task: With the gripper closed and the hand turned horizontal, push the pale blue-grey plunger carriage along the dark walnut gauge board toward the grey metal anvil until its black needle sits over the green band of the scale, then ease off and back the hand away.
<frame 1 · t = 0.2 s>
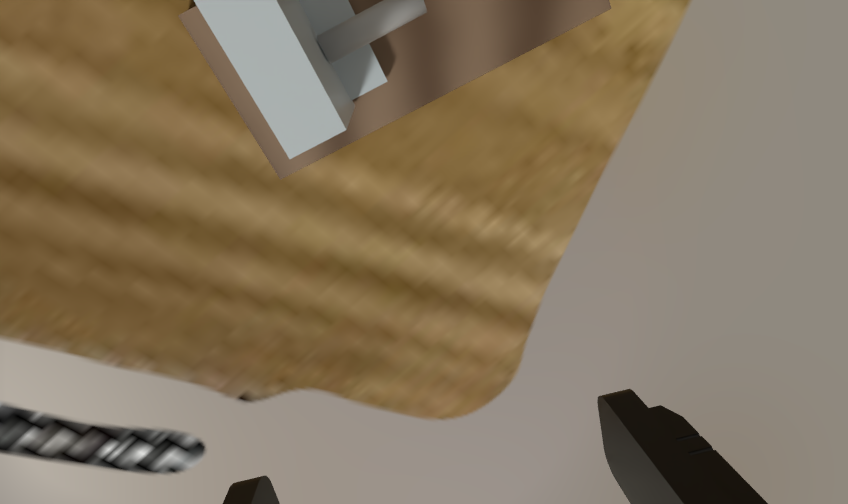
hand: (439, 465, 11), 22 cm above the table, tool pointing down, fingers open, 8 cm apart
gauge board: (402, 14, 27), on the table
carriage: (332, 11, 21), point 7 cm above the table, slide at 0.0 cm
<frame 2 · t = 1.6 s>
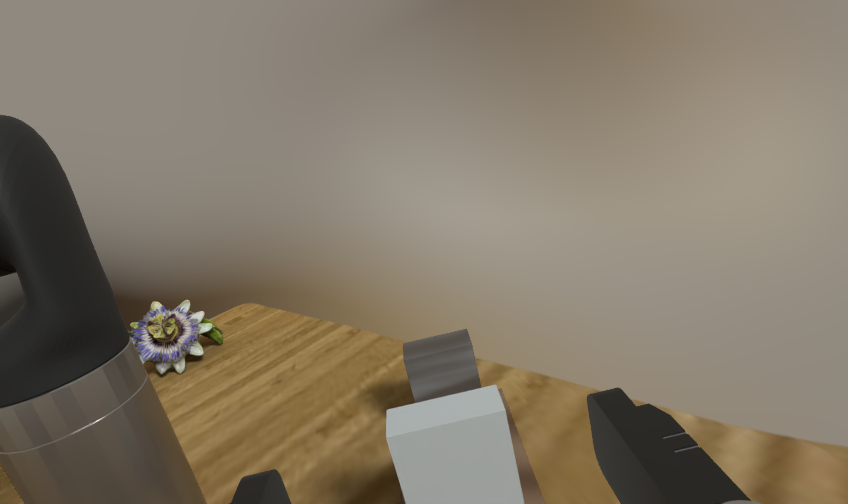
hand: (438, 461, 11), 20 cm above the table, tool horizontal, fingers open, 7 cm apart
passion flower: (183, 362, 72), on the table
gauge board: (470, 500, 35), on the table
carriage: (441, 460, 30), point 7 cm above the table, slide at 0.0 cm
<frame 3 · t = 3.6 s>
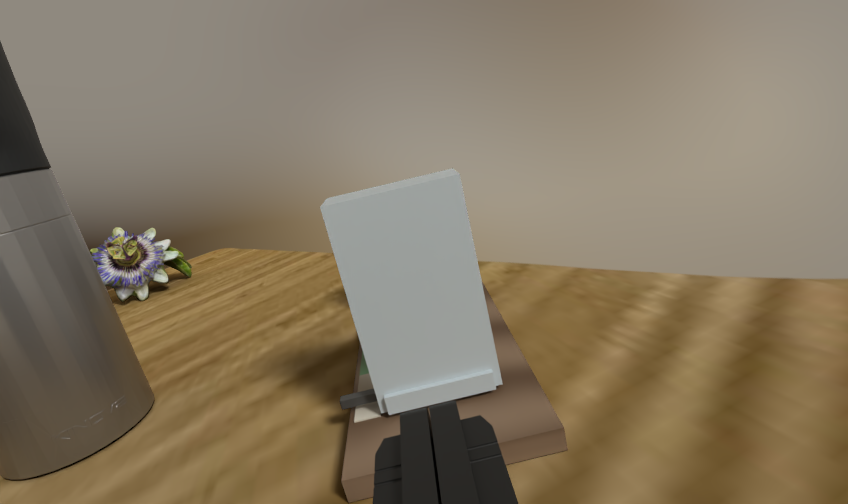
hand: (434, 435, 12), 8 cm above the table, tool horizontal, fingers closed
passion flower: (148, 293, 68), on the table
gauge board: (435, 356, 32), on the table
carriage: (395, 280, 26), point 7 cm above the table, slide at 0.0 cm
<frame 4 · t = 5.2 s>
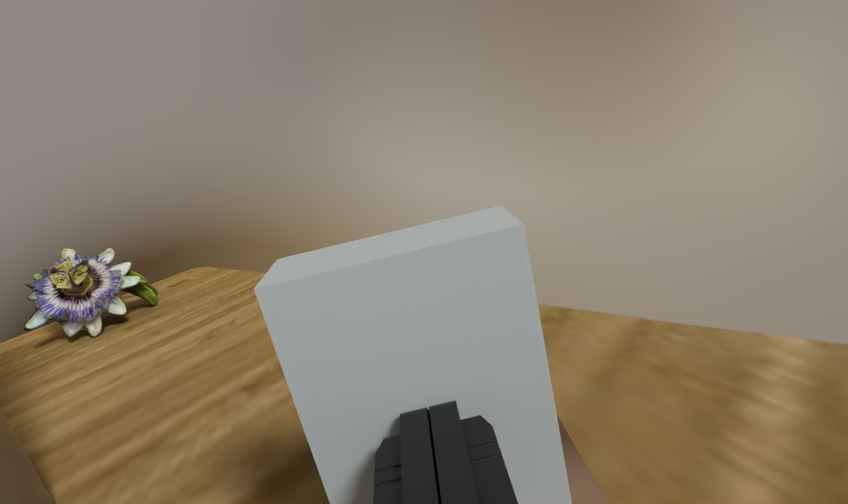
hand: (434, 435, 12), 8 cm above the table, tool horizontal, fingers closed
passion flower: (105, 326, 57), on the table
gauge board: (457, 471, 21), on the table
carriage: (398, 383, 16), point 7 cm above the table, slide at 0.1 cm, touching gripper
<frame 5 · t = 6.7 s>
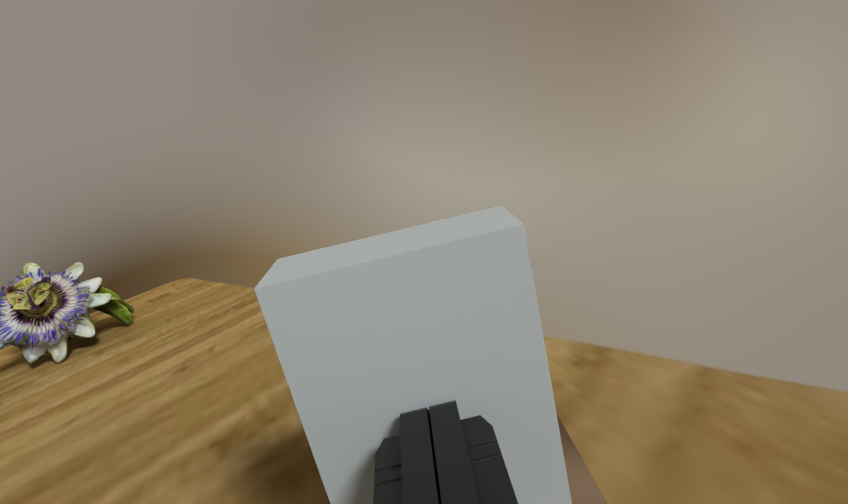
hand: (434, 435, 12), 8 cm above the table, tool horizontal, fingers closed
passion flower: (73, 348, 52), on the table
carriage: (398, 382, 16), point 7 cm above the table, slide at 6.1 cm, touching gripper
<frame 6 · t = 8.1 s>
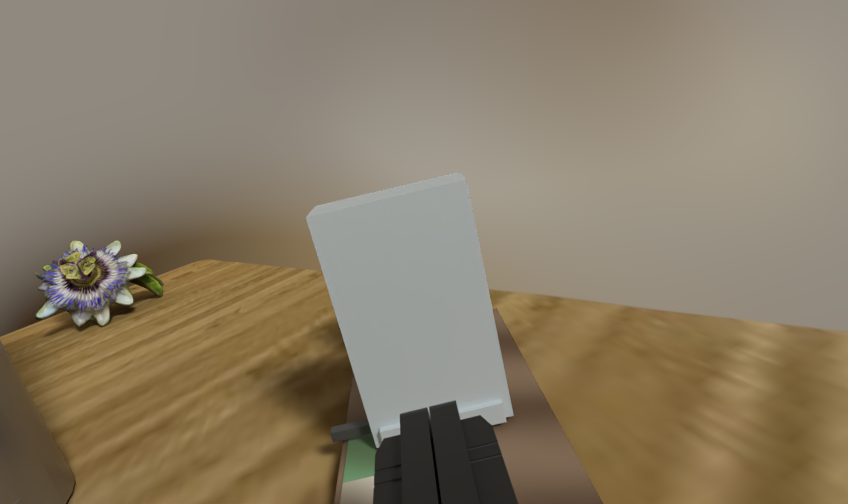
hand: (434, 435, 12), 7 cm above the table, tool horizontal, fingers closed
passion flower: (112, 316, 59), on the table
gauge board: (449, 443, 23), on the table
carriage: (393, 296, 24), point 7 cm above the table, slide at 6.1 cm
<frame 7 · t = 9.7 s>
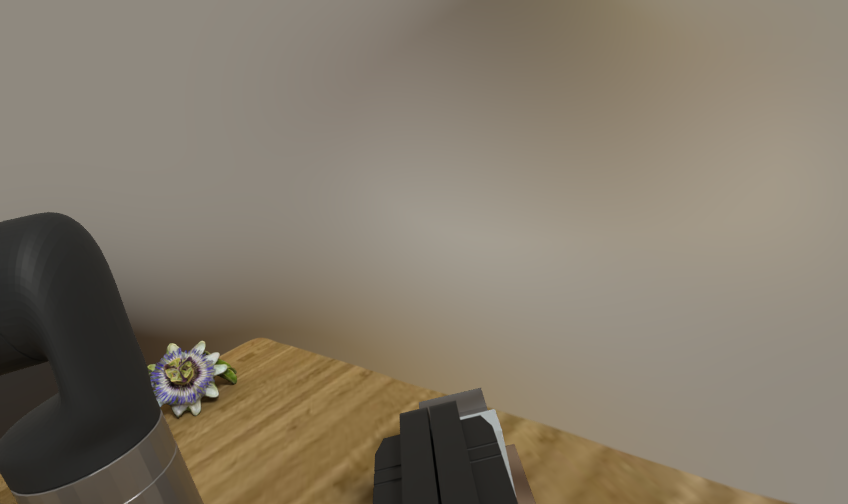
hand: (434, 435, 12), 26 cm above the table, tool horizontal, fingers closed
passion flower: (198, 402, 73), on the table
carriage: (451, 470, 37), point 7 cm above the table, slide at 6.1 cm
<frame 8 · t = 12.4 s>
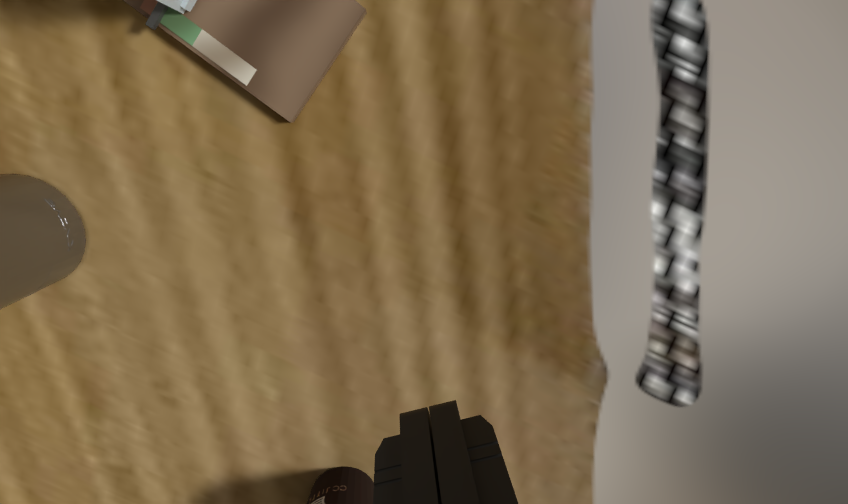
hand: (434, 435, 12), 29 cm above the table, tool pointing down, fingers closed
coffee mug: (329, 494, 48), on the table
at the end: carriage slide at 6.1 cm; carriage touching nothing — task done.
